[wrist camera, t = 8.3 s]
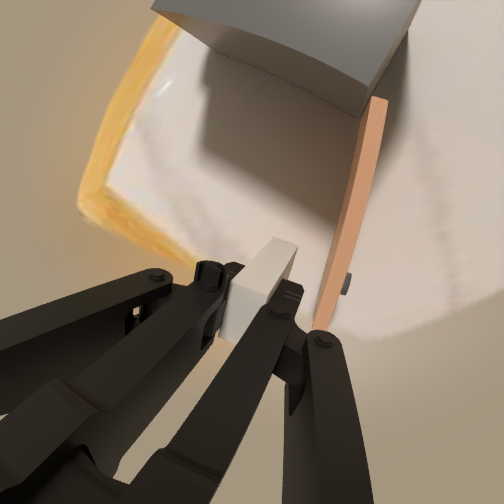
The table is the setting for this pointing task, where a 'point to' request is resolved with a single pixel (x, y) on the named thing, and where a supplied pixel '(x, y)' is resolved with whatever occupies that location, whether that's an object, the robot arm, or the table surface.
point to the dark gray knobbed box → (303, 39)
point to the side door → (351, 211)
